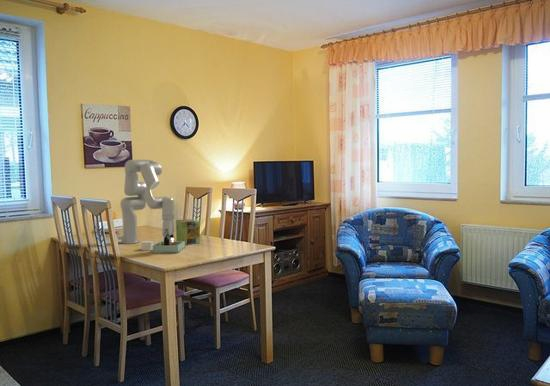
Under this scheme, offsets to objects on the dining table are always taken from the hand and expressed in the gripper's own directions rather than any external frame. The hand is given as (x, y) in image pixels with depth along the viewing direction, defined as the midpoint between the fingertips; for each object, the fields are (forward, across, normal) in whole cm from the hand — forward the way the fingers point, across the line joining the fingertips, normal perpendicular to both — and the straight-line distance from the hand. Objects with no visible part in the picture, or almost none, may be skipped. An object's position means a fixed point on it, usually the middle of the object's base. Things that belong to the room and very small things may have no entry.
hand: (169, 244), depth 297 cm
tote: (+4, 0, 0) cm, 4 cm away
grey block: (+4, -4, -15) cm, 16 cm away
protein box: (+4, -28, +5) cm, 29 cm away
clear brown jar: (+3, 0, 0) cm, 3 cm away
